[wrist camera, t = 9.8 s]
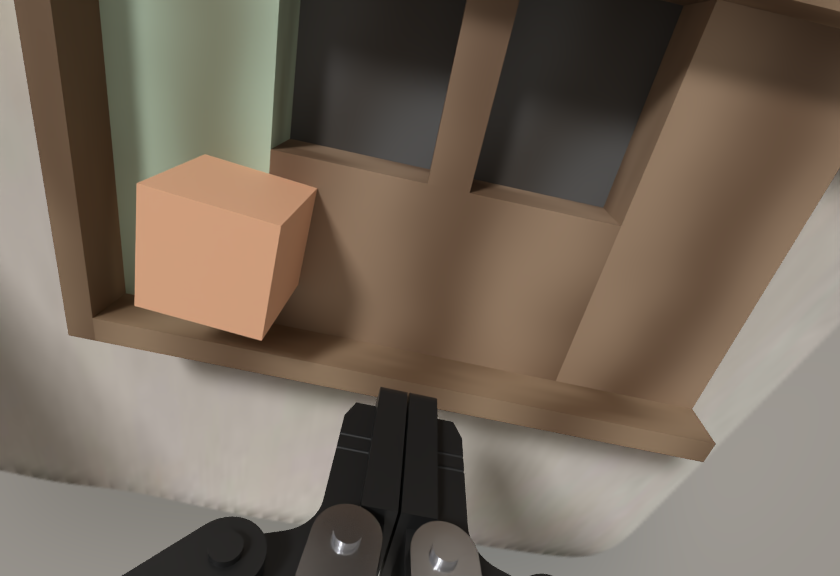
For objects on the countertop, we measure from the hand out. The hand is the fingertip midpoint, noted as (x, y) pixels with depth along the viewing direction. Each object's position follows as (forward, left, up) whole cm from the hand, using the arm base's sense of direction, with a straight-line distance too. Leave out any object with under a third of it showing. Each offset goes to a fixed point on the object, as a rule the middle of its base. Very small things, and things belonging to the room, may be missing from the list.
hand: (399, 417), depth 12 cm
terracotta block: (-6, +2, -7) cm, 9 cm away
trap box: (0, +4, -9) cm, 10 cm away
